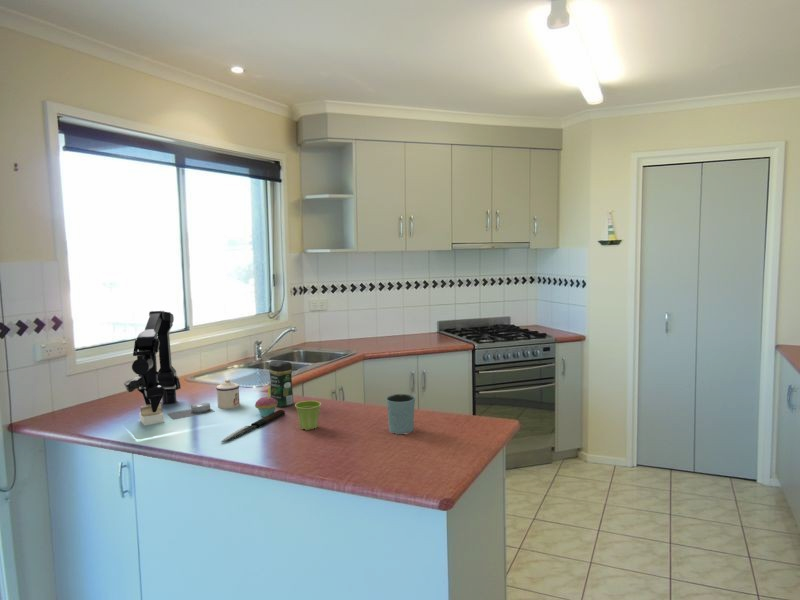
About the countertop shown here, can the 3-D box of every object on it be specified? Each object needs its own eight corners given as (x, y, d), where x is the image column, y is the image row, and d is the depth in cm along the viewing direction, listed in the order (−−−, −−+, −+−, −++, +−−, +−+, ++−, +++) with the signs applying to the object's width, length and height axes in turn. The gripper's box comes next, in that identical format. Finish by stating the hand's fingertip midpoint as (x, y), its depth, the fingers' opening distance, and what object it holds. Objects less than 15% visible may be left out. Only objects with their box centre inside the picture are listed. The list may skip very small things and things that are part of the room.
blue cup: (412, 425, 202) (411, 392, 201) (418, 434, 192) (418, 400, 191) (384, 427, 200) (383, 395, 199) (390, 437, 190) (389, 402, 189)
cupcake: (282, 413, 220) (281, 383, 219) (268, 419, 212) (267, 388, 211) (265, 411, 224) (264, 381, 223) (251, 417, 216) (249, 386, 215)
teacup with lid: (238, 409, 227) (237, 381, 225) (215, 411, 225) (213, 382, 224) (242, 402, 238) (241, 375, 237) (220, 403, 237) (219, 376, 236)
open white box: (139, 423, 212) (139, 412, 211) (159, 419, 216) (158, 409, 215) (144, 427, 206) (143, 417, 206) (164, 423, 210) (163, 413, 210)
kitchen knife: (273, 409, 220) (284, 410, 219) (274, 414, 220) (285, 415, 219) (214, 438, 187) (226, 439, 185) (214, 444, 187) (227, 446, 186)
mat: (166, 415, 221) (166, 413, 221) (206, 408, 230) (206, 406, 230) (173, 421, 213) (173, 419, 213) (215, 413, 222) (215, 411, 222)
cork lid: (138, 413, 211) (138, 406, 211) (158, 409, 216) (158, 402, 215) (144, 417, 205) (143, 410, 205) (164, 413, 210) (163, 406, 210)
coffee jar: (267, 404, 233) (265, 361, 232) (282, 400, 239) (280, 357, 238) (281, 408, 227) (279, 363, 225) (296, 404, 233) (295, 360, 231)
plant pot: (326, 424, 205) (325, 401, 204) (314, 432, 196) (313, 408, 195) (303, 422, 208) (303, 399, 207) (290, 430, 199) (290, 406, 198)
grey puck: (188, 411, 224) (187, 405, 223) (204, 406, 229) (204, 401, 229) (197, 414, 219) (196, 408, 219) (213, 409, 224) (213, 404, 224)
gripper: (119, 368, 212) (122, 408, 213) (130, 376, 197) (133, 419, 198) (151, 363, 218) (153, 402, 220) (163, 371, 203) (166, 413, 205)
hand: (151, 409), depth 210 cm, fingers open, 9 cm apart
